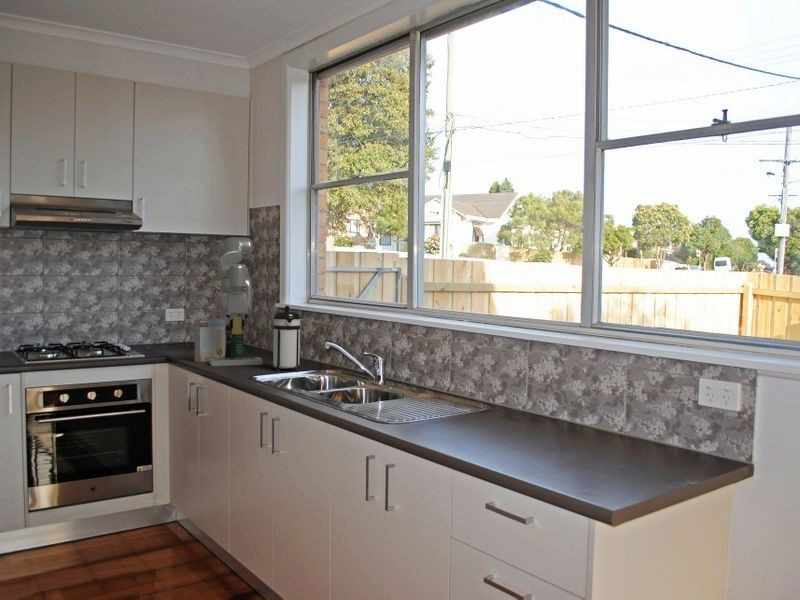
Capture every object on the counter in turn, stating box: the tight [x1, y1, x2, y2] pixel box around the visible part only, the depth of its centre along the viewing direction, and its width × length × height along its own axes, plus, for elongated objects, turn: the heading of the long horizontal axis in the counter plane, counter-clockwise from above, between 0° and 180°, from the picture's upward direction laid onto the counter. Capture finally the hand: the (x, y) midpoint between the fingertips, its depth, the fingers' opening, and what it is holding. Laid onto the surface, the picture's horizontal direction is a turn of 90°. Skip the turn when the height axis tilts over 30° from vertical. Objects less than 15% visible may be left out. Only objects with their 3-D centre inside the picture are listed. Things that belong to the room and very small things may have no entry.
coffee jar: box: [225, 323, 245, 358], centre depth 369 cm, size 10×8×19 cm
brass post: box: [232, 316, 242, 334], centre depth 349 cm, size 4×4×8 cm
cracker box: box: [193, 318, 225, 363], centre depth 359 cm, size 14×6×21 cm, turn 135°
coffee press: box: [271, 305, 302, 371], centre depth 338 cm, size 17×16×30 cm
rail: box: [209, 356, 263, 367], centre depth 349 cm, size 8×24×3 cm, turn 110°
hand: (236, 327), depth 349 cm, fingers closed on brass post, 4 cm apart
